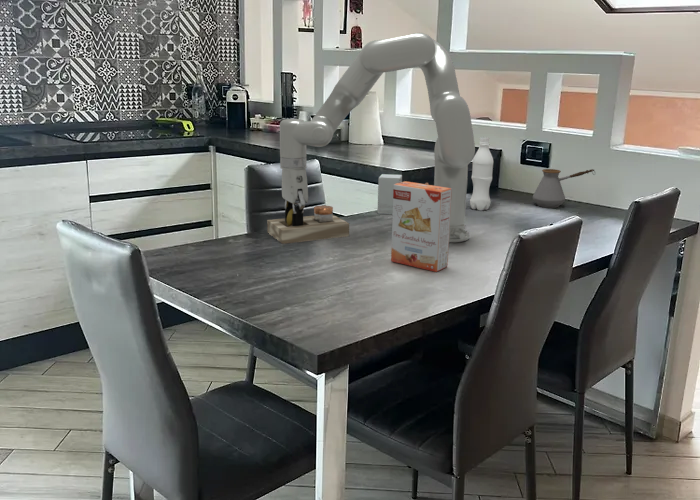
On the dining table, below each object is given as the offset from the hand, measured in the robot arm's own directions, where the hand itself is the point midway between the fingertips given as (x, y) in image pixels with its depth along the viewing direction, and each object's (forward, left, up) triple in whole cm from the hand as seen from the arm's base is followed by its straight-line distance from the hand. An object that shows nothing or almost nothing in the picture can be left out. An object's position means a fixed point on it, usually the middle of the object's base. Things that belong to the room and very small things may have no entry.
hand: (294, 223), depth 201 cm
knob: (0, 0, -1) cm, 1 cm away
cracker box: (-39, -19, -4) cm, 44 cm away
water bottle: (+9, -73, -4) cm, 74 cm away
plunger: (0, -9, 0) cm, 9 cm away
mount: (0, -4, -4) cm, 6 cm away
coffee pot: (0, -102, -4) cm, 102 cm away
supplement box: (+17, -41, -4) cm, 45 cm away
